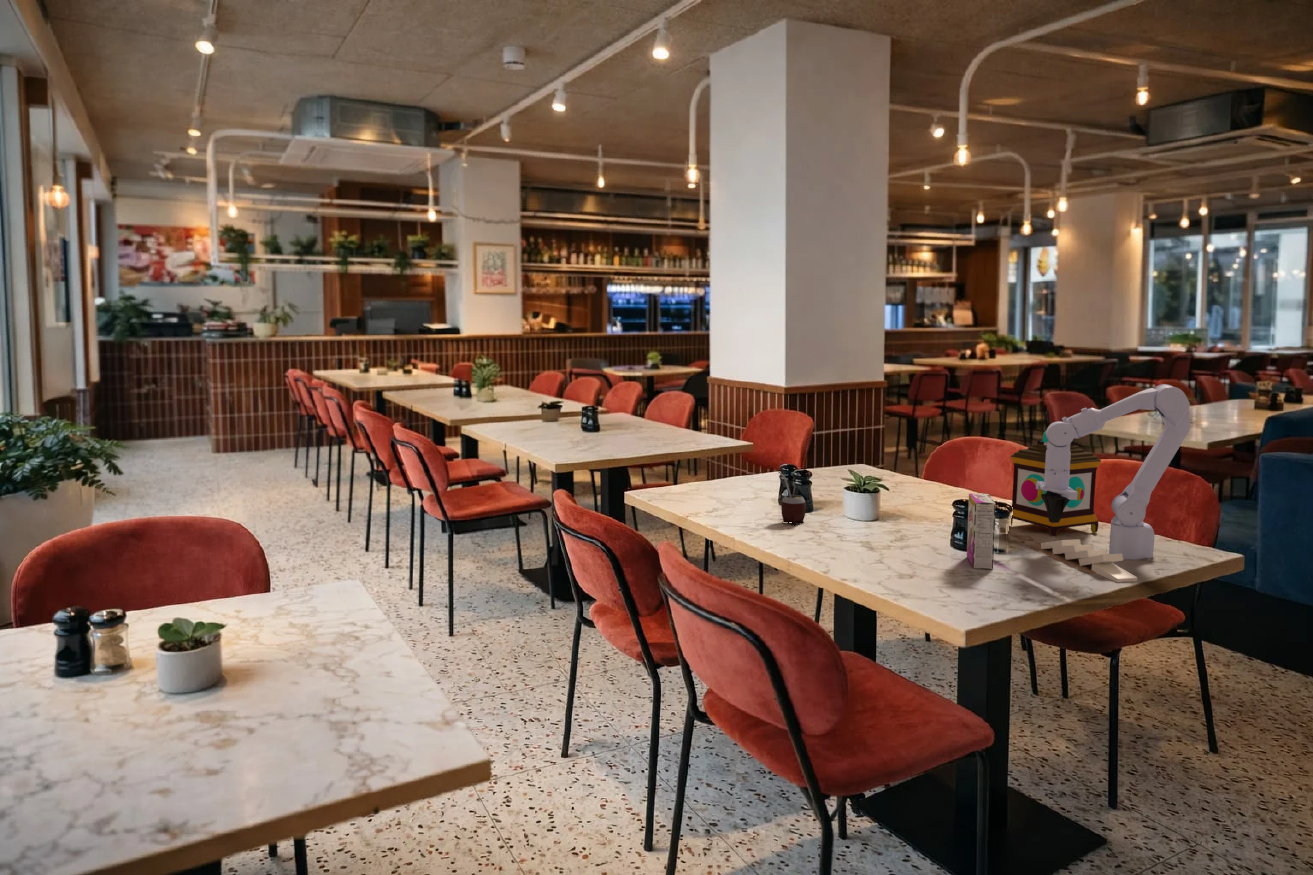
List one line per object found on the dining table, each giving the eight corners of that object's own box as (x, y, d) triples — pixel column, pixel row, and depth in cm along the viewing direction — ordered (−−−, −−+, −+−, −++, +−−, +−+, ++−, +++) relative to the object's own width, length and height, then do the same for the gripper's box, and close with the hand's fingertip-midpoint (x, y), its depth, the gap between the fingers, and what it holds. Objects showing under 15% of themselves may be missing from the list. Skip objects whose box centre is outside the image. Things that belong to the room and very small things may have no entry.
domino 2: (1052, 547, 222) (1074, 545, 213) (1070, 547, 223) (1092, 544, 214) (1053, 554, 222) (1074, 551, 213) (1071, 553, 223) (1093, 550, 214)
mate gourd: (807, 526, 256) (808, 475, 254) (779, 526, 256) (780, 475, 254) (803, 520, 263) (804, 470, 261) (776, 520, 263) (777, 470, 261)
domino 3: (1064, 553, 217) (1087, 550, 208) (1083, 552, 218) (1106, 549, 209) (1065, 559, 217) (1088, 557, 208) (1084, 558, 218) (1107, 556, 209)
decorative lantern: (1053, 541, 238) (1060, 430, 234) (997, 525, 256) (1002, 422, 252) (1106, 533, 246) (1113, 426, 242) (1048, 519, 264) (1054, 419, 260)
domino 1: (1040, 542, 227) (1061, 540, 218) (1058, 542, 228) (1079, 539, 219) (1041, 549, 227) (1062, 546, 218) (1059, 548, 227) (1080, 545, 219)
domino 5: (1092, 563, 207) (1117, 578, 198) (1111, 562, 208) (1137, 577, 199) (1091, 569, 207) (1116, 585, 199) (1110, 568, 208) (1136, 584, 199)
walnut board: (1056, 547, 232) (1056, 544, 232) (1123, 575, 206) (1124, 571, 206) (1025, 548, 230) (1025, 545, 230) (1088, 576, 205) (1088, 573, 205)
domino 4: (1078, 559, 212) (1102, 554, 203) (1097, 558, 213) (1122, 553, 204) (1079, 565, 211) (1103, 561, 203) (1098, 564, 212) (1123, 560, 204)
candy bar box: (965, 556, 223) (968, 492, 220) (986, 557, 222) (989, 493, 219) (971, 569, 212) (974, 501, 210) (993, 570, 211) (997, 502, 209)
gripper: (1026, 465, 230) (1023, 516, 232) (1060, 474, 216) (1056, 529, 218) (1051, 464, 231) (1048, 515, 233) (1086, 473, 217) (1083, 528, 219)
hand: (1054, 522), depth 225 cm, fingers closed
